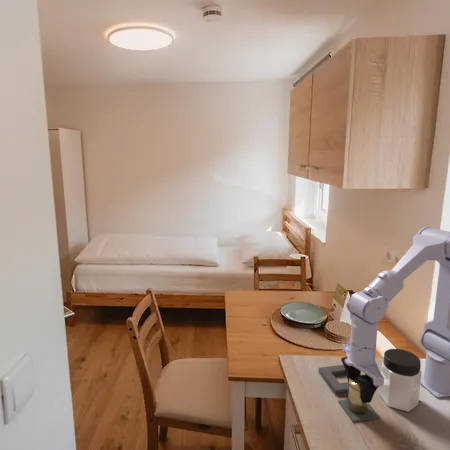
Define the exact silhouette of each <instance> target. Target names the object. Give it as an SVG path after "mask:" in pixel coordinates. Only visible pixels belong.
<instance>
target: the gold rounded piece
mask: <svg viewBox="0 0 450 450" xmlns="http://www.w3.org/2000/svg"><path fill="white" fill-rule="evenodd" d="M349 385H350V386H349V393H348V394H347V395H348V397H347V399H348V403H347V407H348V409H349V410H350V411H351V412H353V413H355V414H358V415H364V414H366V413H367V409H368V403H362V401H361V393H360V385H359V381H358V379H357V376H352V377H350V378H349Z"/></svg>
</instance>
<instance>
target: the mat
mask: <svg viewBox="0 0 450 450" xmlns="http://www.w3.org/2000/svg"><path fill="white" fill-rule="evenodd" d="M337 402H338V404H339V405H340V407H341V408H342V409H343V411H344V412H345V413H346V415H347V416H348V418H349V419H350V421H351V422H352V423H358V422H364V421H371V420H377V419H381V416H380V414H378V412H377V411H376V410H375V409H374V408H373V407H372V406H371V404H370V402H369V403H368V409H367V413H366V414H364V415H358V414H355V413H353V412H351V411H350V410H349V409H348V407H347V403H348V398H347V399H340V400H339V399H338V401H337Z"/></svg>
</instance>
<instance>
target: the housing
mask: <svg viewBox="0 0 450 450" xmlns="http://www.w3.org/2000/svg"><path fill="white" fill-rule="evenodd" d="M318 374H319V375H320V377H322V379H323V381H324V382H325V383H326V384H327V387H329V389H330V390H331V391H332V393H333V395H334V396H339V395H348V394H349V384H348V381H346V382H339V381H338V379H337V378H336V376H345V375H346V376H347V374H346V371H345V368H344V365H343V364H339V365H331V366H330V365H329V366H322V367H321V366H320V367H318Z"/></svg>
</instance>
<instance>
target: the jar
mask: <svg viewBox="0 0 450 450" xmlns="http://www.w3.org/2000/svg"><path fill="white" fill-rule="evenodd" d="M380 373H381V374H382V376H383V377H384V385H382V386H379V390H378V391H379V392H378V395H379V396H380V397H381V399H382V400H383V401H384V403H385V404H386V405H387V407H390V408H394V409H396V410H400V411H404V412H410V411H412V410H413V409H414V408H416V406H418V405H419V402H420V401H419V399H420V392H421V383H420V382H421V377H422V373H423V372H422V370H421V359H420V358H419V357H418V356H417V355H416V354H414V353H413V352H411V351H408V350H405V349H401V348H389V349H387V350H385V351H384V355H383V361H382V362H381V366H380Z"/></svg>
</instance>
